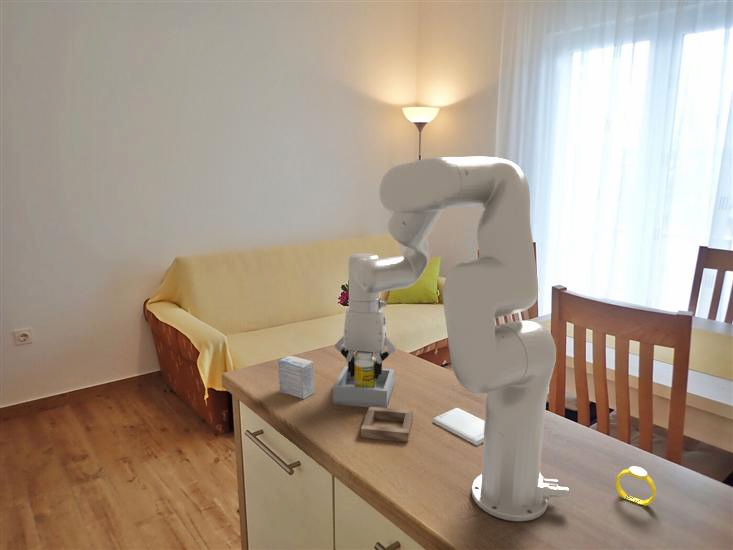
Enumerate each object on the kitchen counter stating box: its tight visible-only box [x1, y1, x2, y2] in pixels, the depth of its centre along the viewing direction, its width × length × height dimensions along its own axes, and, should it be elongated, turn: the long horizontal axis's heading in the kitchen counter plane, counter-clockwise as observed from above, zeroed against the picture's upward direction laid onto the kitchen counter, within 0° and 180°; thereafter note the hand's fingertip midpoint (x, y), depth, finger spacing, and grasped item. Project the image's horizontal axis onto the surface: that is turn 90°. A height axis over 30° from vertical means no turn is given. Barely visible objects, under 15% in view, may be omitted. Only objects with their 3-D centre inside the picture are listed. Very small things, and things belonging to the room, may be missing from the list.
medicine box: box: [278, 355, 315, 400], centre depth 128 cm, size 8×4×9 cm, turn 58°
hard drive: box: [432, 407, 485, 446], centre depth 112 cm, size 2×8×12 cm
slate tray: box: [332, 365, 395, 408], centre depth 127 cm, size 13×13×4 cm
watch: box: [615, 465, 657, 507], centre depth 87 cm, size 6×3×6 cm, turn 51°
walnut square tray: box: [360, 407, 414, 442], centre depth 112 cm, size 10×10×2 cm
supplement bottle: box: [354, 351, 376, 388], centre depth 126 cm, size 5×5×10 cm
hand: (365, 375), depth 127 cm, fingers open, 5 cm apart
